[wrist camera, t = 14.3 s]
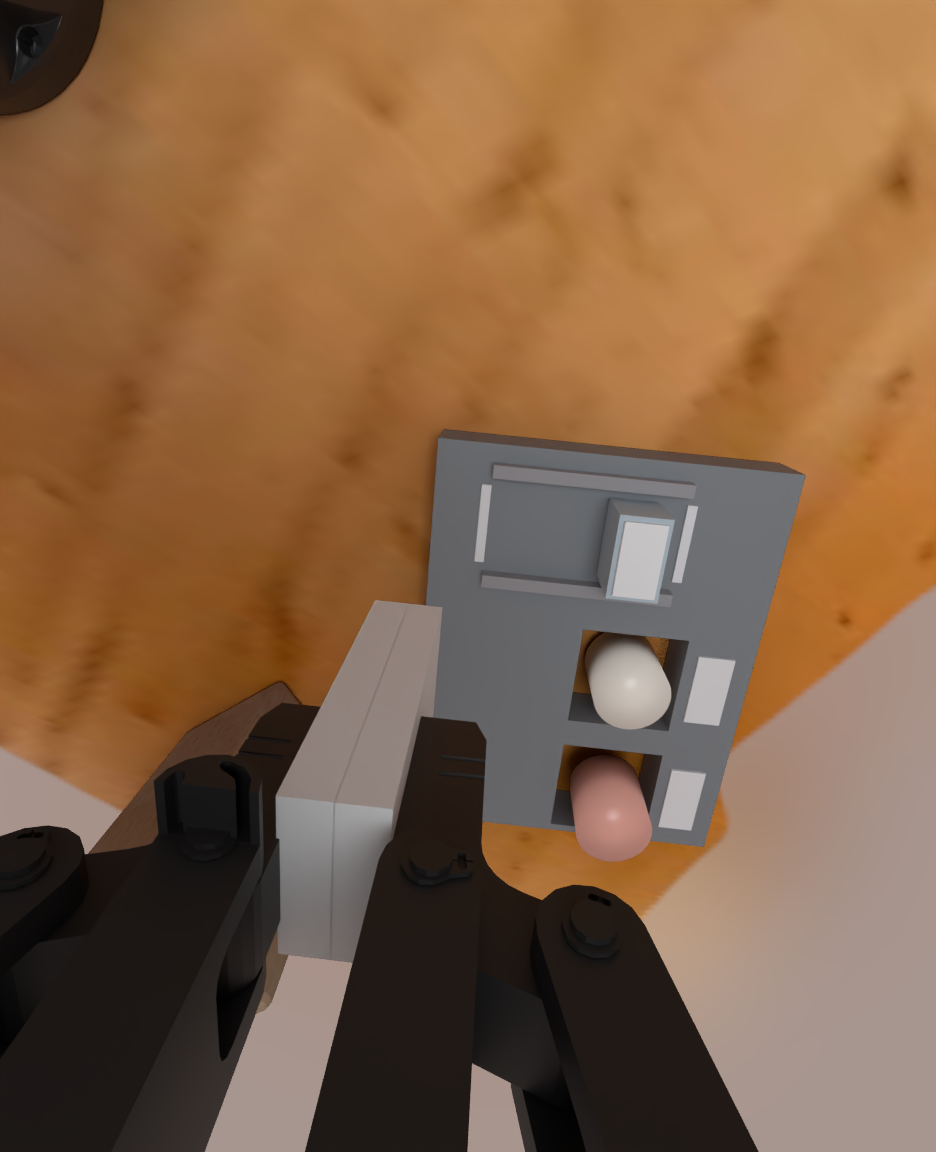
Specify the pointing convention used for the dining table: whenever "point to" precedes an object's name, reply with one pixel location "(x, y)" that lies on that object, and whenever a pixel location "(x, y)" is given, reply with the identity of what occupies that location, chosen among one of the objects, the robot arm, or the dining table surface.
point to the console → (598, 612)
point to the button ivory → (626, 680)
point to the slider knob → (634, 550)
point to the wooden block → (206, 739)
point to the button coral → (609, 809)
